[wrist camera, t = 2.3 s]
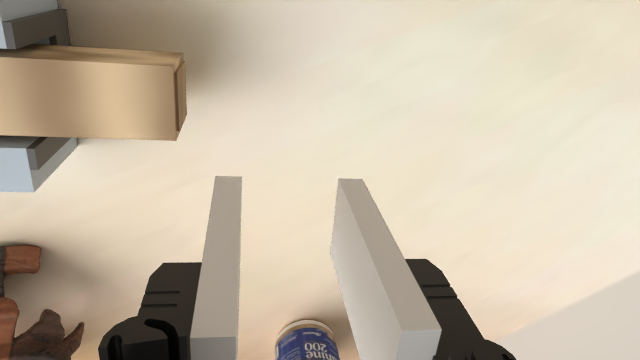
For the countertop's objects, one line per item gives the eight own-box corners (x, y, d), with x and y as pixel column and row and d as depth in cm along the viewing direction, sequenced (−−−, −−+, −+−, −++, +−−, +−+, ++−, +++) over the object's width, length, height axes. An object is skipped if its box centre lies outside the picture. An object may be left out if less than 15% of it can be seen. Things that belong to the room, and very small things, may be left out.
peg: (-29, 110, 27) (-72, 132, 23) (-45, 39, 25) (-94, 51, 22) (187, 118, 29) (179, 140, 25) (185, 53, 27) (175, 66, 24)
